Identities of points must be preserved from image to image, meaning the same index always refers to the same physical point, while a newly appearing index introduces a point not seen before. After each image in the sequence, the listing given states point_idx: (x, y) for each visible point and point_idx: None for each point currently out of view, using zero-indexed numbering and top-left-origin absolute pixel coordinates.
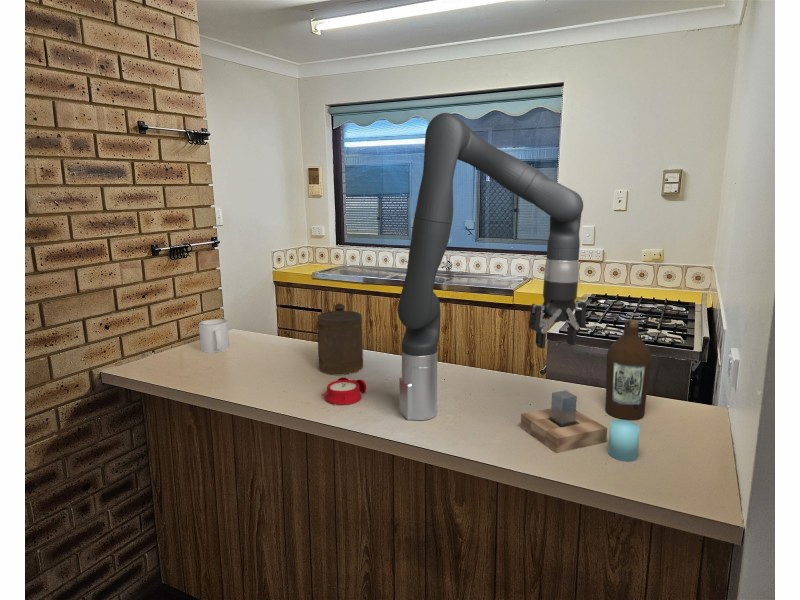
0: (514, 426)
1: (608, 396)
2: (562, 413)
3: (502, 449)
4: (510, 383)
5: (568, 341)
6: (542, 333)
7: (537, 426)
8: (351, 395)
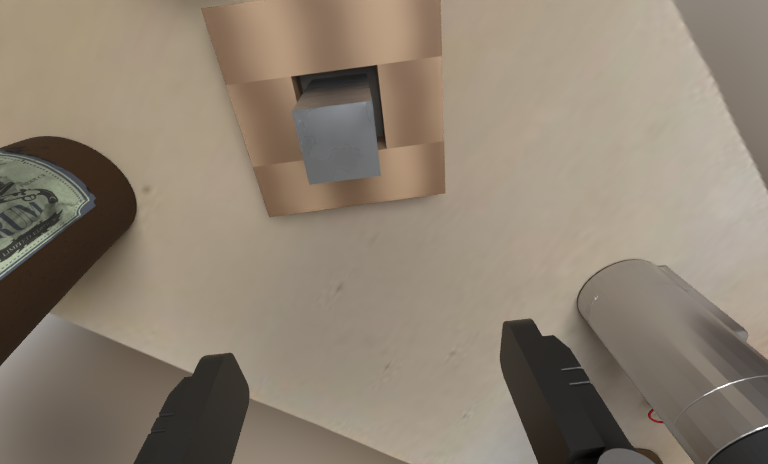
0: (449, 184)
1: (102, 225)
2: (366, 88)
3: (566, 59)
4: (331, 385)
5: (239, 397)
6: (599, 454)
7: (442, 104)
8: None
